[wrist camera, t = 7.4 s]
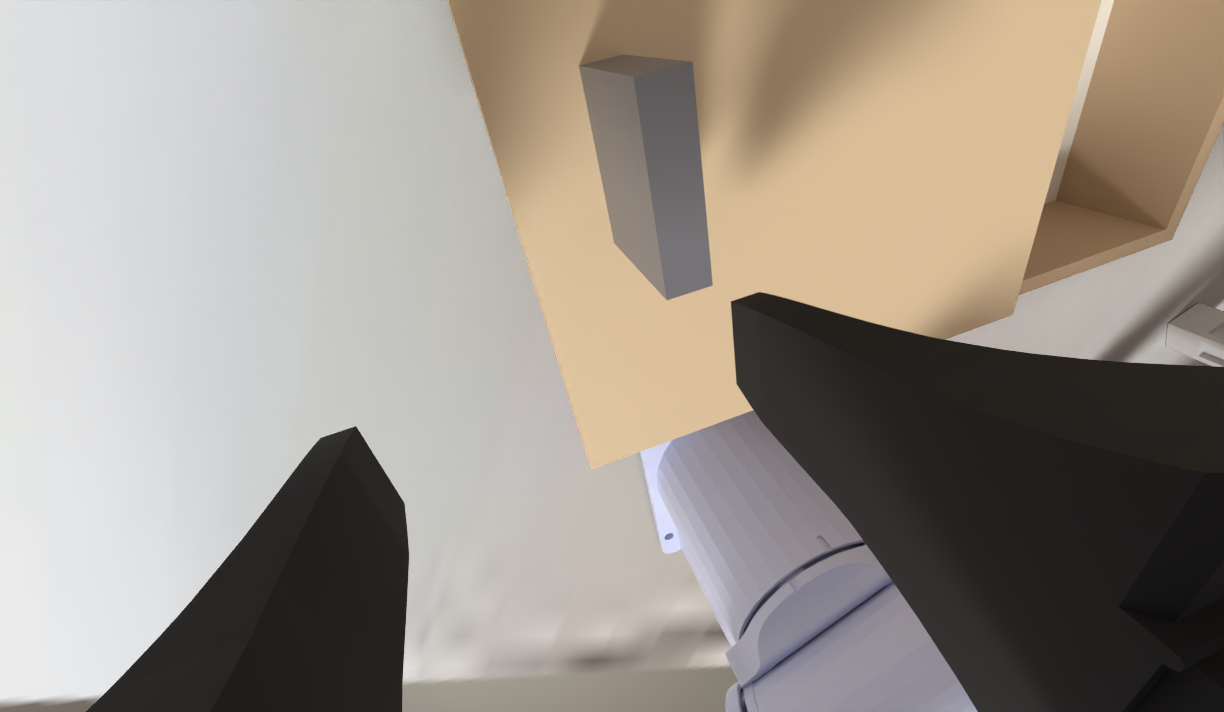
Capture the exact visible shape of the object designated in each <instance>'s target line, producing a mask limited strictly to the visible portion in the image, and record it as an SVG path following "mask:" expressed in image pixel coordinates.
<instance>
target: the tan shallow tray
mask: <svg viewBox="0 0 1224 712" xmlns="http://www.w3.org/2000/svg"><path fill="white" fill-rule="evenodd" d="M1223 122H1224V0H1102V1H1101V4H1100V8H1099V11H1098V15H1097V18H1096V22H1095V25H1094V29H1093V33H1092V36H1091V40H1090V43H1089V47H1088V50H1087V54H1086V57H1085V61H1084V64H1083V68H1082V72H1081V75H1080V79H1079V82H1078V86H1077V89H1076V93H1075V96H1074V100H1073V104H1072V107H1071V111H1070V114H1069V118H1068V121H1067V125H1066V128H1065V132H1064V135H1063V139H1062V143H1061V146H1060V150H1059V153H1058V157H1057V160H1056V164H1055V167H1054V171H1053V174H1052V178H1051V182H1050V185H1049V189H1048V192H1047V196H1046V199H1045V203H1044V206H1043V210H1042V214H1041V217H1040V221H1039V224H1038V228H1037V231H1036V235H1035V238H1034V242H1033V245H1032V249H1031V253H1030V256H1029V260H1028V263H1027V267H1026V270H1025V274H1024V277H1023V281H1022V284H1021V288H1020V292H1019V295H1020V294H1023V293H1026V292H1028V291H1031V290H1034V289H1037V288H1039V287H1042V286H1045V285H1048V284H1050V283H1053V282H1056V281H1059V280H1061V279H1064V278H1067V277H1070V276H1072V275H1075V274H1078V273H1081V272H1083V271H1086V270H1089V269H1092V268H1094V267H1097V266H1100V265H1103V264H1105V263H1108V262H1111V261H1114V260H1117V259H1119V258H1122V257H1125V256H1128V255H1130V254H1133V253H1136V252H1139V251H1141V250H1144V249H1147V248H1150V247H1152V246H1155V245H1158V244H1161V243H1163V242H1166V241H1169V240H1172V238H1173V236H1174V234H1175V232H1176V229H1177V227H1178V225H1179V222H1180V220H1181V218H1182V216H1183V213H1184V211H1185V209H1186V206H1187V204H1188V202H1189V200H1190V197H1191V195H1192V193H1193V191H1194V188H1195V186H1196V184H1197V181H1198V179H1199V177H1200V175H1201V172H1202V170H1203V168H1204V166H1205V163H1206V161H1207V159H1208V156H1209V154H1210V152H1211V150H1212V147H1213V145H1214V143H1215V140H1216V138H1217V136H1218V134H1219V131H1220V129H1221V127H1222V125H1223Z"/></svg>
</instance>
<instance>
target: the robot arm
mask: <svg viewBox="0 0 1224 712" xmlns="http://www.w3.org/2000/svg"><path fill="white" fill-rule="evenodd" d="M731 312H732V326H733V341H734V355H735V369H736V384H737V386H738V387H739V389H740V390H741V392H742V393H743V395H744V396H745V398H746V399H747V401H748V403H749V404H750V406H751V407H752V409H753V410H752V411H750V412H747V413H744V414H741V415H739V416H736V417H733V418H731V419H728V420H725V421H722V422H720V423H717V424H714V425H712V426H709V427H706V428H703V429H701V430H698V431H695V432H693V433H690V434H687V435H684V436H682V437H679V438H676V439H674V440H671V441H668V442H665V443H663V444H660V445H657V446H655V447H652V448H649V449H646V450H644V451H641V452H640V457H641V461H642V466H643V470H644V475H645V479H646V484H647V488H648V492H649V497H650V501H651V506H652V510H653V515H654V519H655V524H656V528H657V533H658V537H659V542H660V546H661V548H662V550H663V552H664V553H666V554H670V553H673V552H676V551H678V550H681V549H682V550H683V552H684V554H685V556H686V558H687V560H688V562H689V564H690V566H691V568H692V570H693V572H694V574H695V576H696V578H697V580H698V582H699V584H700V586H701V588H702V590H703V592H704V594H705V596H706V598H707V600H708V602H709V604H710V606H711V608H712V610H713V612H714V614H715V616H716V618H717V620H718V622H719V624H720V626H721V628H722V630H723V632H724V634H725V636H726V638H727V639H728V641H729V643H730V644H731V646H732V648H731V649H729V650H728V651H727V652H726V654H725V655H726V657H727V659H728V661H729V663H730V665H731V667H732V669H733V671H734V674H735V676H736V678H737V680H738V682H736V683H735V684H734V685H732V686H731V687H730V688H729V689H728V692H727V694H726V706H725V707H726V712H1224V367H1213V366H1186V365H1165V364H1145V363H1127V362H1114V361H1100V360H1088V359H1078V358H1069V357H1059V356H1050V355H1040V354H1031V353H1024V352H1016V351H1009V350H1002V349H996V348H990V347H984V346H978V345H972V344H966V343H960V342H954V341H949V340H944V339H939V338H934V337H929V336H925V335H920V334H916V333H912V332H908V331H903V330H899V329H895V328H891V327H887V326H883V325H879V324H875V323H871V322H868V321H864V320H860V319H857V318H853V317H849V316H846V315H842V314H839V313H835V312H832V311H829V310H825V309H822V308H818V307H815V306H811V305H808V304H805V303H801V302H798V301H794V300H791V299H787V298H783V297H780V296H776V295H772V294H767V293H762V292H758V293H755V294H752V295H749V296H746V297H743V298H740V299H737V300H734V301H731ZM408 565H409V549H408V535H407V525H406V515H405V505H404V502H403V500H402V499H401V497H400V496H399V494H398V492H397V491H396V489H395V488H394V486H393V484H392V483H391V481H390V480H389V478H388V476H387V475H386V473H385V472H384V470H383V468H382V467H381V465H380V464H379V462H378V461H377V459H376V457H375V456H374V454H373V453H372V451H371V449H370V448H369V446H368V445H367V443H366V441H365V440H364V438H363V437H362V435H361V433H360V432H359V430H358V429H357V427H353V428H350V429H347V430H344V431H341V432H338V433H335V434H332V435H329V436H326V437H323V438H320V439H319V441H318V442H317V443H316V444H315V445H314V446H313V447H312V449H311V450H310V451H309V452H308V454H307V455H306V456H305V457H304V459H303V460H302V461H301V463H300V464H299V465H298V467H297V468H296V469H295V471H294V472H293V473H292V475H291V476H290V477H289V479H288V480H287V481H286V483H285V484H284V485H283V487H282V488H281V489H280V491H279V492H278V493H277V495H276V496H275V497H274V498H273V500H272V501H271V502H270V504H269V505H268V506H267V508H266V509H265V510H264V512H263V513H262V514H261V516H260V517H259V518H258V519H257V521H256V522H255V523H254V525H253V526H252V527H251V529H250V530H249V531H248V533H247V534H246V535H245V536H244V538H243V539H242V540H241V541H240V543H239V544H238V545H237V546H236V547H235V549H234V550H233V551H232V552H231V554H230V555H229V556H228V557H227V558H226V560H225V561H224V562H223V563H222V565H221V566H220V567H219V568H218V569H217V571H216V572H215V573H214V574H213V575H212V577H211V578H210V579H209V580H208V582H207V583H206V584H205V585H204V586H203V588H202V589H201V590H200V591H199V592H198V594H197V595H196V596H195V597H194V599H193V600H192V601H191V602H190V603H189V604H188V605H187V607H186V608H185V609H184V610H183V611H182V612H181V613H180V615H179V616H178V617H177V618H176V619H175V620H174V621H173V622H172V623H171V625H170V626H169V627H168V628H167V629H166V630H165V631H164V632H163V633H162V634H161V636H160V637H159V638H158V639H157V640H156V641H155V642H154V643H153V644H152V645H151V646H150V647H149V648H148V649H147V650H146V651H145V652H144V654H143V655H142V656H141V657H140V658H139V659H138V660H137V661H136V662H135V663H134V664H133V665H132V666H131V667H130V668H129V669H128V670H127V672H126V673H125V674H124V675H123V676H122V677H121V678H120V679H119V680H118V681H117V682H116V683H115V684H114V685H113V686H112V687H111V688H110V689H109V690H108V691H107V692H106V693H105V694H104V695H103V696H102V697H101V698H100V699H99V700H98V701H97V702H96V703H95V704H93V705H92V706H91V707H90V708H89V709H88V710H87V711H86V712H402V678H403V660H404V642H405V624H406V606H407V587H408Z"/></svg>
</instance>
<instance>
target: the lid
mask: <svg viewBox="0 0 1224 712" xmlns="http://www.w3.org/2000/svg"><path fill="white" fill-rule="evenodd" d="M1101 1H1102V0H447V2H448V6H449V9H450V12H451V15H452V19H453V22H454V25H455V29H456V32H457V35H458V38H459V42H460V45H461V48H462V51H463V55H464V58H465V61H466V65H467V68H468V71H469V74H470V78H471V81H472V84H473V87H474V91H475V94H476V97H477V100H478V104H479V107H480V110H481V114H482V117H483V120H484V123H485V127H486V130H487V133H488V136H489V140H490V143H491V146H492V149H493V153H494V156H495V159H496V163H497V166H498V169H499V172H500V176H501V179H502V182H503V185H504V189H505V192H506V195H507V199H508V202H509V205H510V208H511V212H512V215H513V218H514V221H515V225H516V228H517V231H518V234H519V238H520V241H521V244H522V248H523V251H524V254H525V257H526V261H527V264H528V267H529V270H530V274H531V277H532V280H533V284H534V287H535V290H536V293H537V297H538V300H539V303H540V306H541V310H542V313H543V316H544V319H545V323H546V326H547V329H548V333H549V336H550V339H551V342H552V346H553V349H554V352H555V355H556V359H557V362H558V365H559V368H560V372H561V375H562V378H563V382H564V385H565V388H566V391H567V395H568V398H569V401H570V404H571V408H572V411H573V414H574V418H575V421H576V424H577V427H578V431H579V434H580V437H581V440H582V444H583V447H584V450H585V453H586V457H587V459H588V462H589V465H590V467H591V470H592V469H595V468H598V467H600V466H603V465H606V464H608V463H611V462H614V461H617V460H619V459H622V458H625V457H627V456H630V455H633V454H636V453H638V452H641V451H644V450H646V449H649V448H652V447H655V446H657V445H660V444H663V443H665V442H668V441H671V440H674V439H676V438H679V437H682V436H684V435H687V434H690V433H693V432H695V431H698V430H701V429H703V428H706V427H709V426H712V425H714V424H717V423H720V422H722V421H725V420H728V419H731V418H733V417H736V416H739V415H741V414H744V413H747V412H750V411H752V410H753V409H752V407H751V406H750V404H749V403H748V401H747V399H746V398H745V396H744V395H743V393H742V392H741V390H740V389H739V387H738V386H737V384H736V369H735V355H734V341H733V326H732V312H731V301H734V300H737V299H740V298H743V297H746V296H749V295H752V294H755V293H758V292H762V293H767V294H772V295H776V296H780V297H783V298H787V299H791V300H794V301H798V302H801V303H805V304H808V305H811V306H815V307H818V308H822V309H825V310H829V311H832V312H835V313H839V314H842V315H846V316H849V317H853V318H857V319H860V320H864V321H868V322H871V323H875V324H879V325H883V326H887V327H891V328H895V329H899V330H903V331H908V332H912V333H916V334H920V335H925V336H929V337H934V338H939V339H944V340H945V339H948V338H950V337H953V336H956V335H958V334H961V333H964V332H967V331H969V330H972V329H975V328H977V327H980V326H983V325H986V324H988V323H991V322H994V321H996V320H999V319H1002V318H1005V317H1007V316H1010V315H1013V313H1014V309H1015V306H1016V302H1017V299H1018V295H1019V292H1020V288H1021V284H1022V281H1023V277H1024V274H1025V270H1026V267H1027V263H1028V260H1029V256H1030V253H1031V249H1032V245H1033V242H1034V238H1035V235H1036V231H1037V228H1038V224H1039V221H1040V217H1041V214H1042V210H1043V206H1044V203H1045V199H1046V196H1047V192H1048V189H1049V185H1050V182H1051V178H1052V174H1053V171H1054V167H1055V164H1056V160H1057V157H1058V153H1059V150H1060V146H1061V143H1062V139H1063V135H1064V132H1065V128H1066V125H1067V121H1068V118H1069V114H1070V111H1071V107H1072V104H1073V100H1074V96H1075V93H1076V89H1077V86H1078V82H1079V79H1080V75H1081V72H1082V68H1083V64H1084V61H1085V57H1086V54H1087V50H1088V47H1089V43H1090V40H1091V36H1092V33H1093V29H1094V25H1095V22H1096V18H1097V15H1098V11H1099V8H1100V4H1101Z"/></svg>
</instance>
